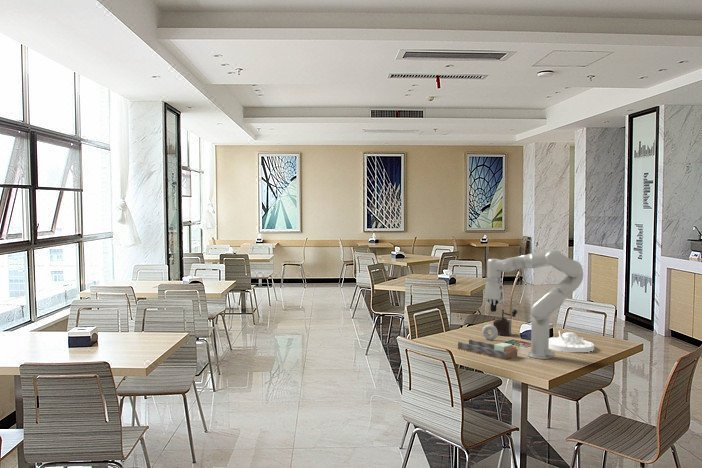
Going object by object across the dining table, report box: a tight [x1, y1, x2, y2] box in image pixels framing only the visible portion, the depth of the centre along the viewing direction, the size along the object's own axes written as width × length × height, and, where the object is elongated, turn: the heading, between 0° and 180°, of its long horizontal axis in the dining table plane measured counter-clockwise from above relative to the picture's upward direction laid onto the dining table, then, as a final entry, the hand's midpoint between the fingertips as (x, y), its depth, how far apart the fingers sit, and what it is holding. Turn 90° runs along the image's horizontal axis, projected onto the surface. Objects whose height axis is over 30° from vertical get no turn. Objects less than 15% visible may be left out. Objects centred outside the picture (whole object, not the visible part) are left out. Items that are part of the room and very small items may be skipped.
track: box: [457, 339, 518, 361], centre depth 320 cm, size 32×12×6 cm, turn 42°
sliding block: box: [494, 342, 513, 352], centre depth 312 cm, size 6×9×5 cm
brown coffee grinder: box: [492, 309, 518, 337], centre depth 369 cm, size 16×11×18 cm
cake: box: [549, 330, 595, 353], centre depth 336 cm, size 28×28×10 cm
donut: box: [481, 323, 499, 341], centre depth 353 cm, size 10×4×10 cm, turn 62°
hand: (493, 311), depth 322 cm, fingers closed
